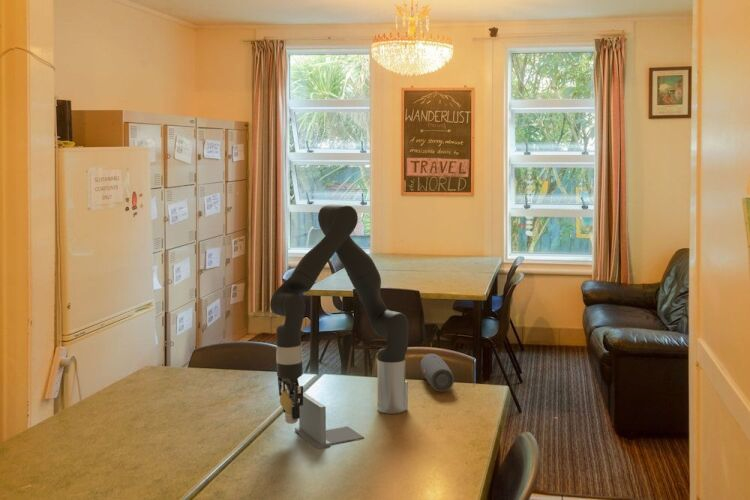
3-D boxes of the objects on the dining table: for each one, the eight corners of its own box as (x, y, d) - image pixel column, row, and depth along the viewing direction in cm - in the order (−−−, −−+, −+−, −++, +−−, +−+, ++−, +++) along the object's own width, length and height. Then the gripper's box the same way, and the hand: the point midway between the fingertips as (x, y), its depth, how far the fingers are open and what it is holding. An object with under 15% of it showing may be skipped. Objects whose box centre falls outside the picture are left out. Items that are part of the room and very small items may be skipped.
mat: (347, 427, 247) (347, 426, 247) (363, 438, 237) (363, 437, 237) (315, 433, 242) (315, 432, 242) (330, 444, 232) (330, 443, 232)
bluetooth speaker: (418, 378, 302) (418, 352, 301) (442, 377, 303) (443, 351, 302) (429, 395, 279) (429, 368, 278) (455, 394, 280) (455, 367, 279)
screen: (307, 428, 246) (306, 391, 244) (330, 446, 231) (330, 406, 229) (295, 431, 244) (294, 393, 242) (318, 448, 229) (317, 408, 228)
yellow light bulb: (298, 426, 230) (297, 393, 229) (277, 425, 231) (276, 392, 230) (305, 419, 236) (304, 386, 235) (284, 418, 237) (283, 385, 236)
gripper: (311, 363, 227) (313, 420, 229) (291, 352, 239) (293, 406, 241) (286, 367, 223) (288, 425, 225) (268, 356, 236) (270, 410, 238)
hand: (291, 415), depth 233 cm, fingers closed on yellow light bulb, 6 cm apart
